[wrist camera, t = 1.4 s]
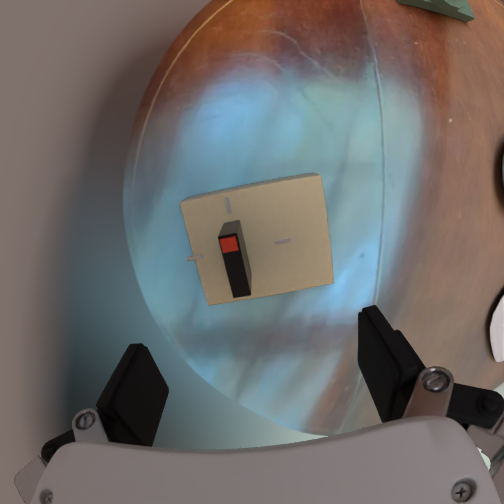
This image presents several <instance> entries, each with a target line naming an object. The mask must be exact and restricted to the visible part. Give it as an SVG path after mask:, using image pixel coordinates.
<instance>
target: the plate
mask: <svg viewBox="0 0 504 504" xmlns="http://www.w3.org/2000/svg"><path fill="white" fill-rule="evenodd" d="M489 330H490V342H491V347H492V352H493V356H494V358H495V360H496V362H502V361H504V294H503V295H502V297H501V299H500V300H499V302H498V304H497V306H496V308H495V310H494V312H493V314H492V319H491V323H490V327H489Z"/></svg>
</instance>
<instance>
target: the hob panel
mask: <svg viewBox="0 0 504 504" xmlns="http://www.w3.org/2000/svg"><path fill="white" fill-rule="evenodd" d="M180 207H181V210H182V214H183V218H184V222H185V226H186V230H187V233H188V237H189V241H190V244H191V248H192V252H193V255H194V256H189V257H187V260H188V261H191V260H195V262H196V266H197V269H198V273H199V276H200V279H201V283H202V286H203V289H204V293H205V296H206V299H207V302H208V305H215V304H221V303H228V302H234V301H240V300H246V299H252V298H258V297H264V296H269V295H275V294H281V293H286V292H291V291H297V290H302V289H307V288H312V287H317V286H322V285H327V284H332V283H334V277H333V266H332V255H331V245H330V236H329V228H328V220H327V212H326V205H325V197H324V191H323V184H322V178H321V175H320V174H316V173H307V174H301V175H295V176H289V177H283V178H278V179H272V180H267V181H261V182H256V183H251V184H246V185H241V186H236V187H231V188H227V189H222V190H217V191H213V192H208V193H204V194H200V195H195V196H191V197H188V198H186V199H184V200H183V201H181V202H180ZM236 220H240V223H241V227H242V232H243V236H244V241H245V246H246V250H247V255H248V259H249V264H250V268H251V273H252V281H251V296H245V297H239V298H233V295H232V291H231V288H230V284H229V280H228V276H227V272H226V268H225V264H224V260H223V256H222V252H221V248H220V244H219V240H218V235H219V233H220V230H221V228H222V226H223V224H224V223H226V222H231V221H236Z"/></svg>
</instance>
